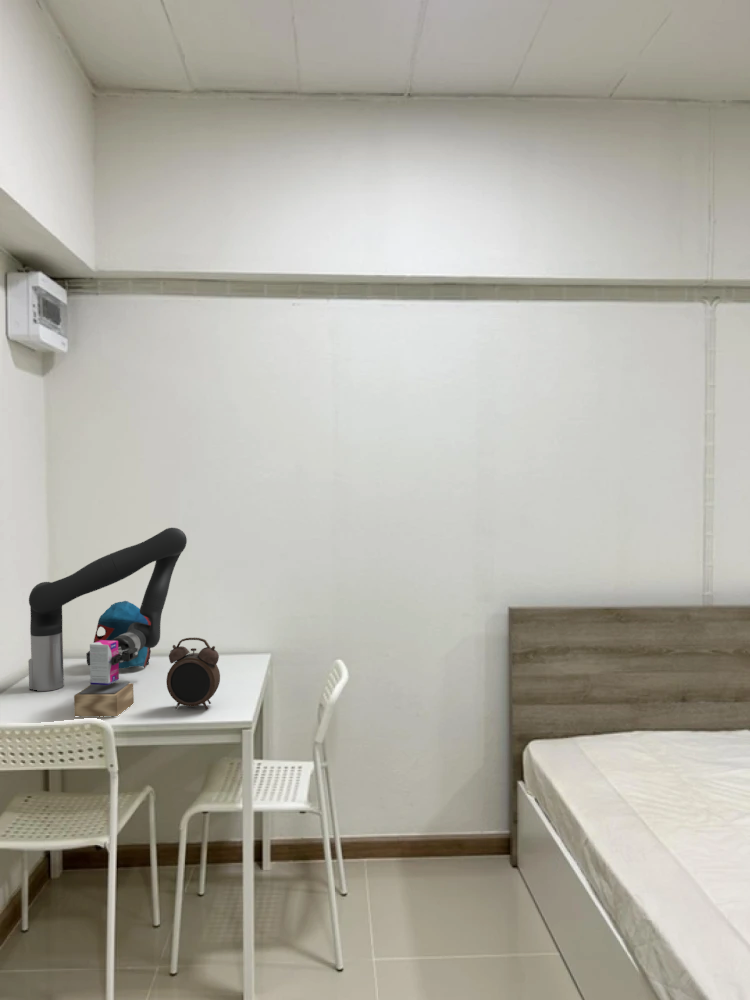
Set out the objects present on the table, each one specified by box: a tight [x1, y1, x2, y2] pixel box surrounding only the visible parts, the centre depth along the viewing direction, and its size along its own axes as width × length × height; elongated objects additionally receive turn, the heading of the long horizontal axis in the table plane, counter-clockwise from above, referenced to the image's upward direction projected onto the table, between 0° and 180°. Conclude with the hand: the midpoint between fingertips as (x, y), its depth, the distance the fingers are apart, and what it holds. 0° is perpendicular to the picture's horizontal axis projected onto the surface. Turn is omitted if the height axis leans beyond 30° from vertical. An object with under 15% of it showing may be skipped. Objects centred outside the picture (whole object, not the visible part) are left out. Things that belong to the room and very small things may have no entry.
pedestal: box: [73, 682, 135, 718], centre depth 208 cm, size 12×12×6 cm
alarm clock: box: [166, 637, 221, 710], centre depth 209 cm, size 14×7×20 cm, turn 87°
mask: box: [93, 600, 152, 670], centre depth 255 cm, size 18×20×25 cm
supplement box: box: [89, 640, 120, 685], centre depth 208 cm, size 6×6×12 cm
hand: (100, 661), depth 205 cm, fingers closed on supplement box, 6 cm apart
